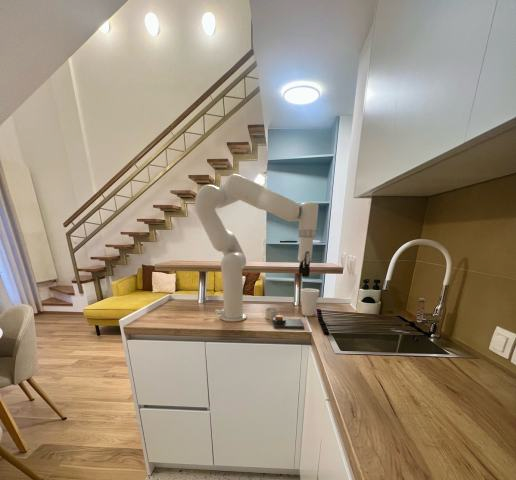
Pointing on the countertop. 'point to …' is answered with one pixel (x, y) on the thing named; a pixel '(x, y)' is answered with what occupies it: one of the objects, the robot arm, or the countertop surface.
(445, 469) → the countertop surface
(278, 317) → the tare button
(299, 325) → the scale
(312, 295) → the foam cup
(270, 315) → the bowl
